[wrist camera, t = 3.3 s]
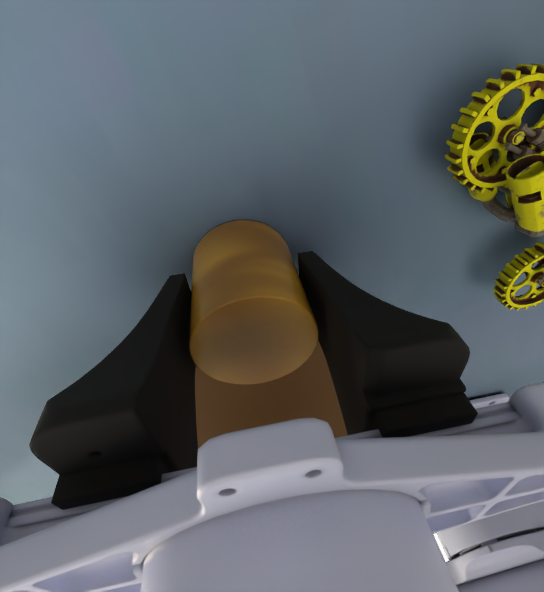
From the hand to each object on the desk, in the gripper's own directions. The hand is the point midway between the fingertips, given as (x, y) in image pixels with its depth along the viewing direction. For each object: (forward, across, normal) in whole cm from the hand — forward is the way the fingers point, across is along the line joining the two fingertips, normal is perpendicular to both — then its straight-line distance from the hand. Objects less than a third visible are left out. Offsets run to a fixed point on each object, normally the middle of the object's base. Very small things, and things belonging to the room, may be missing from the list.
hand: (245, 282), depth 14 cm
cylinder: (+1, 0, 0) cm, 1 cm away
